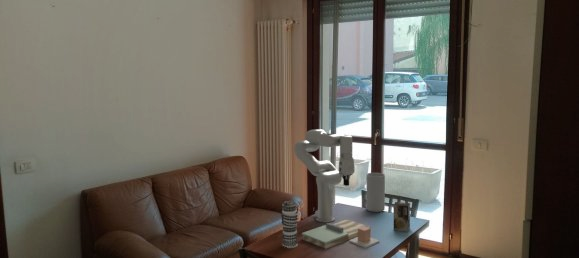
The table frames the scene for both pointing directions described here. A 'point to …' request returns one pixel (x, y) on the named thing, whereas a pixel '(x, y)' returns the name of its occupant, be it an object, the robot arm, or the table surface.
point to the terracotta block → (364, 234)
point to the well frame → (348, 228)
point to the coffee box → (401, 216)
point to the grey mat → (362, 244)
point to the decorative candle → (289, 224)
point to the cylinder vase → (375, 192)
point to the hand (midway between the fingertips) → (346, 185)
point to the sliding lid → (326, 233)
